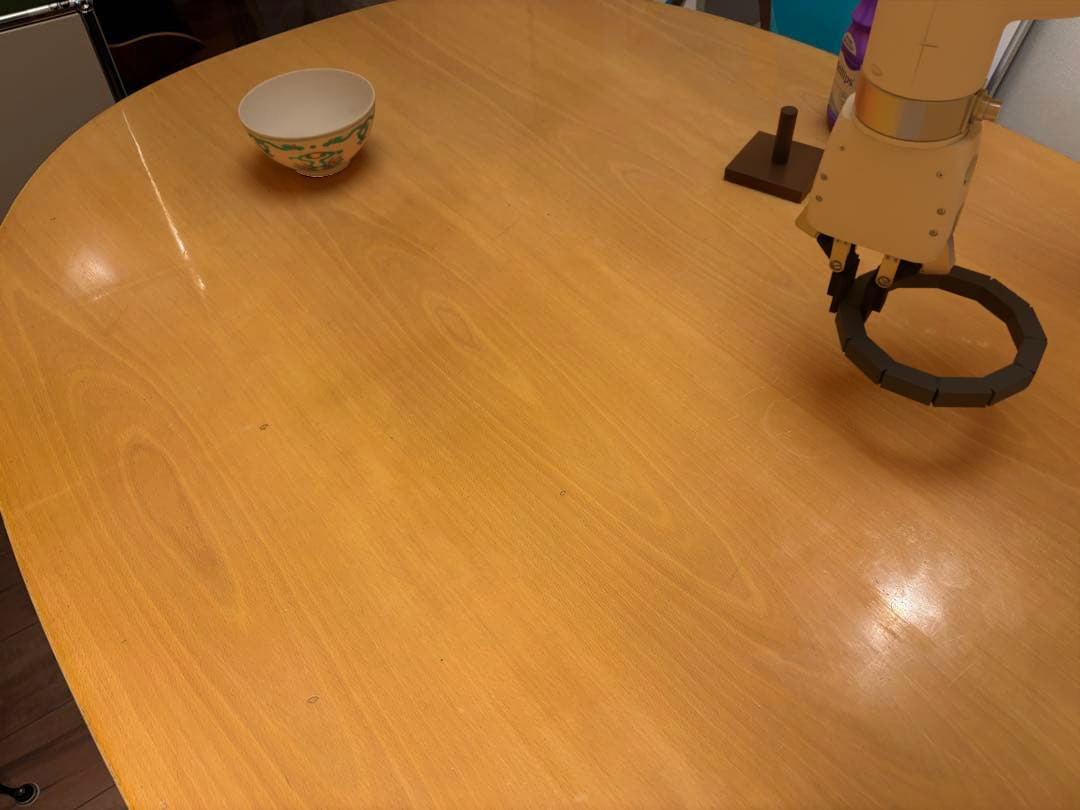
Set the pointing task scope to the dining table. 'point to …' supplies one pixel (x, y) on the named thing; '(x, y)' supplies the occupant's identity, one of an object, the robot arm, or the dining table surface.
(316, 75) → the chinaware
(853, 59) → the bottle
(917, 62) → the robot arm
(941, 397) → the ring
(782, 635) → the dining table surface
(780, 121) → the brown peg stand
